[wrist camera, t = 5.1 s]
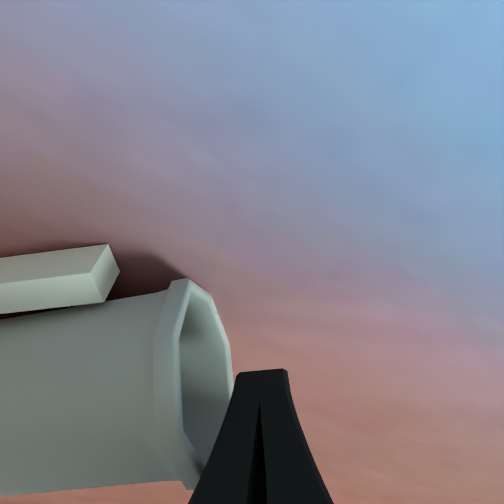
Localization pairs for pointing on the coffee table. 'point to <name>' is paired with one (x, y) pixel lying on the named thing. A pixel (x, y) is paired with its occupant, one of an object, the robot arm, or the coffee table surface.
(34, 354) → the tube
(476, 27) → the coffee table surface
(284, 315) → the coffee table surface
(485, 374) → the coffee table surface
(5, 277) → the rails
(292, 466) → the robot arm
